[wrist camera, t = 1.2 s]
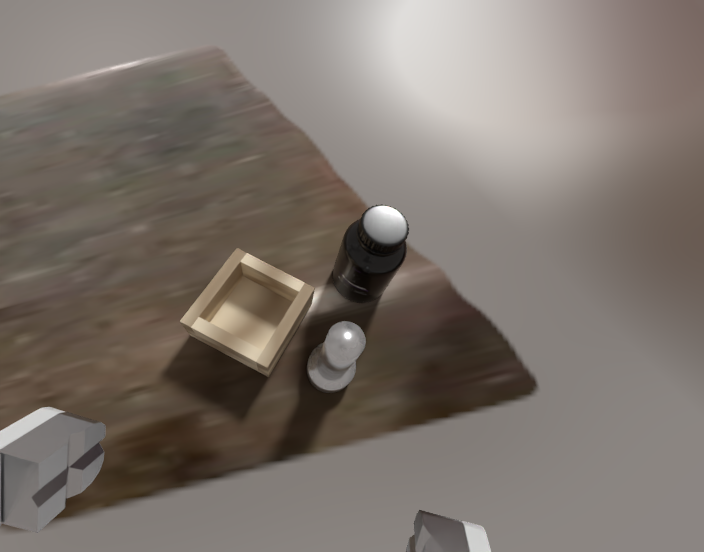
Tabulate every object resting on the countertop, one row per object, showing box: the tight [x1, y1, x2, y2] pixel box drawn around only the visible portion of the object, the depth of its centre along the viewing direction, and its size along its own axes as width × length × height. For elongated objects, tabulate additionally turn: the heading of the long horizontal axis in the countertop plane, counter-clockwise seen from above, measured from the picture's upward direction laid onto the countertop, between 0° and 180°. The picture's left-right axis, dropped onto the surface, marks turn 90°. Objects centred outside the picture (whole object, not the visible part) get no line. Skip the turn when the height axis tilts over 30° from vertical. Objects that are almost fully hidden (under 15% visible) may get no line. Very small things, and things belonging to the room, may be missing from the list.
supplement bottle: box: [333, 205, 409, 303], centre depth 39 cm, size 7×7×12 cm
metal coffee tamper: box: [307, 321, 366, 393], centre depth 34 cm, size 5×5×11 cm
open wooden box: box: [180, 248, 315, 377], centre depth 38 cm, size 9×9×4 cm
